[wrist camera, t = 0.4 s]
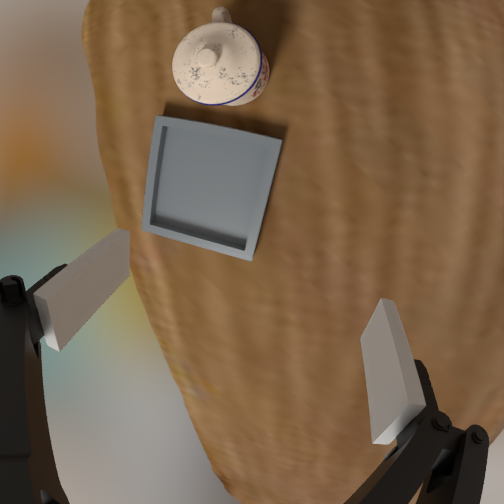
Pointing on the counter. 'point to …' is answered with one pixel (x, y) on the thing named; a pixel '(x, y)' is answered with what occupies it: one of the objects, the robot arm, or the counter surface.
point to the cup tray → (209, 184)
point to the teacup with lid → (220, 63)
